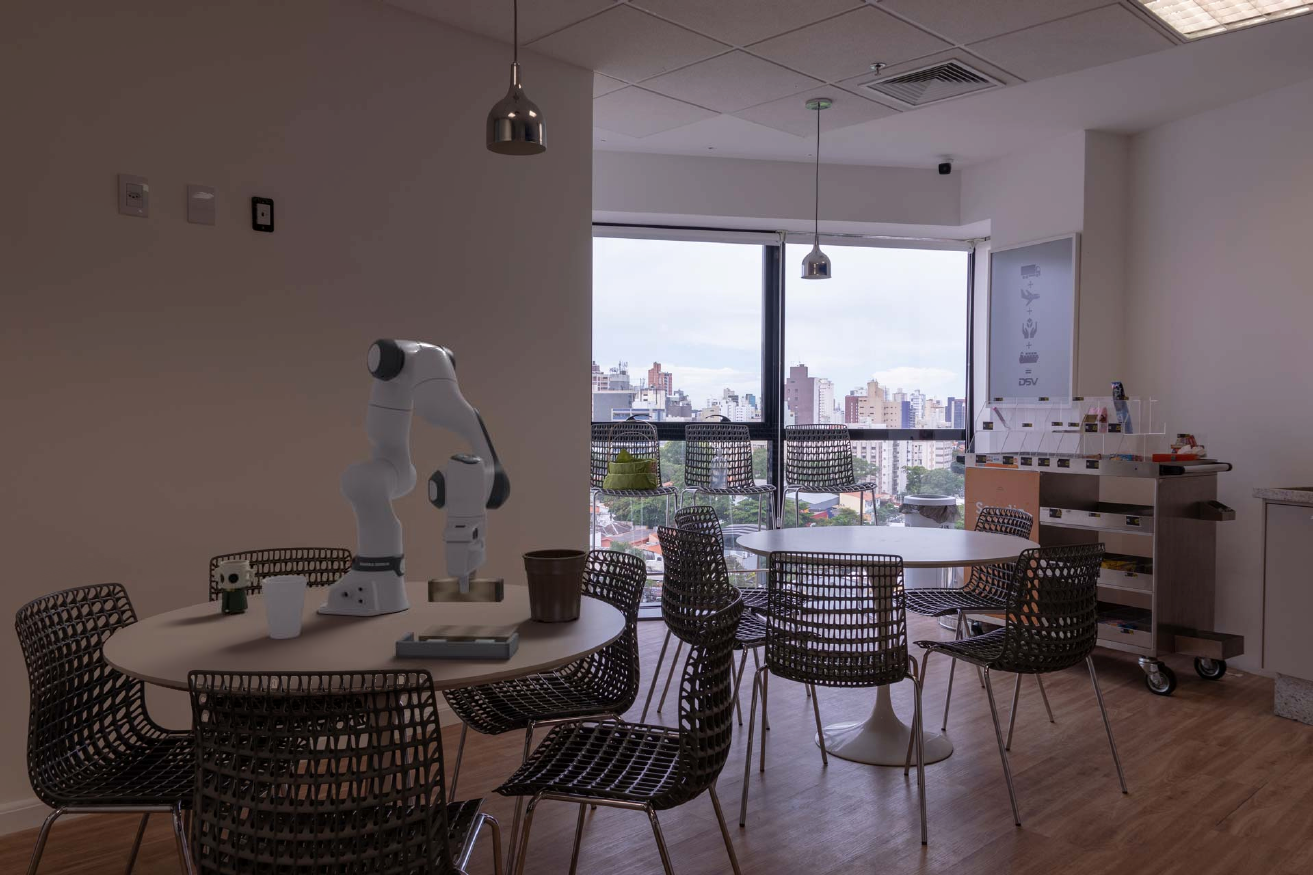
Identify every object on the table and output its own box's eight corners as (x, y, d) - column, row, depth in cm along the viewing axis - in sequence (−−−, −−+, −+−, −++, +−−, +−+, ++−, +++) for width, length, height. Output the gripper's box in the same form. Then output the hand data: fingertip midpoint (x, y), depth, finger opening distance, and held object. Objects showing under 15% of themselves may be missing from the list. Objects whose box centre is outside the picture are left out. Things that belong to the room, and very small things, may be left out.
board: (418, 647, 201) (418, 635, 201) (432, 635, 211) (432, 624, 211) (509, 648, 200) (509, 636, 200) (518, 636, 210) (518, 625, 210)
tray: (395, 657, 192) (395, 642, 192) (409, 646, 201) (409, 631, 201) (509, 659, 191) (509, 643, 191) (518, 648, 200) (518, 633, 200)
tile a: (422, 650, 196) (422, 643, 196) (428, 646, 200) (428, 639, 200) (441, 651, 195) (441, 644, 195) (446, 646, 199) (446, 639, 199)
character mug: (206, 614, 234) (205, 563, 233) (223, 608, 241) (222, 559, 240) (246, 616, 232) (245, 564, 232) (262, 609, 239) (261, 560, 239)
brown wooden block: (428, 602, 203) (427, 581, 202) (432, 598, 206) (432, 578, 206) (500, 602, 202) (500, 581, 202) (503, 598, 205) (503, 578, 205)
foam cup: (264, 642, 206) (263, 584, 205) (261, 633, 214) (260, 577, 214) (309, 637, 210) (308, 580, 210) (304, 628, 218) (303, 574, 218)
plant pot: (515, 613, 234) (514, 550, 234) (575, 608, 240) (575, 546, 240) (532, 627, 219) (532, 560, 219) (596, 621, 226) (596, 555, 225)
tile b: (472, 651, 195) (472, 644, 195) (477, 646, 199) (476, 639, 199) (490, 651, 195) (490, 644, 195) (495, 646, 199) (495, 639, 199)
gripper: (465, 522, 214) (466, 581, 214) (439, 534, 193) (440, 600, 194) (492, 522, 214) (492, 582, 214) (469, 534, 193) (470, 600, 194)
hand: (467, 590), depth 204 cm, fingers closed on brown wooden block, 3 cm apart
